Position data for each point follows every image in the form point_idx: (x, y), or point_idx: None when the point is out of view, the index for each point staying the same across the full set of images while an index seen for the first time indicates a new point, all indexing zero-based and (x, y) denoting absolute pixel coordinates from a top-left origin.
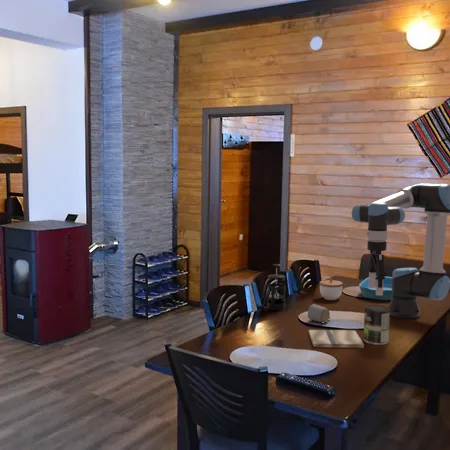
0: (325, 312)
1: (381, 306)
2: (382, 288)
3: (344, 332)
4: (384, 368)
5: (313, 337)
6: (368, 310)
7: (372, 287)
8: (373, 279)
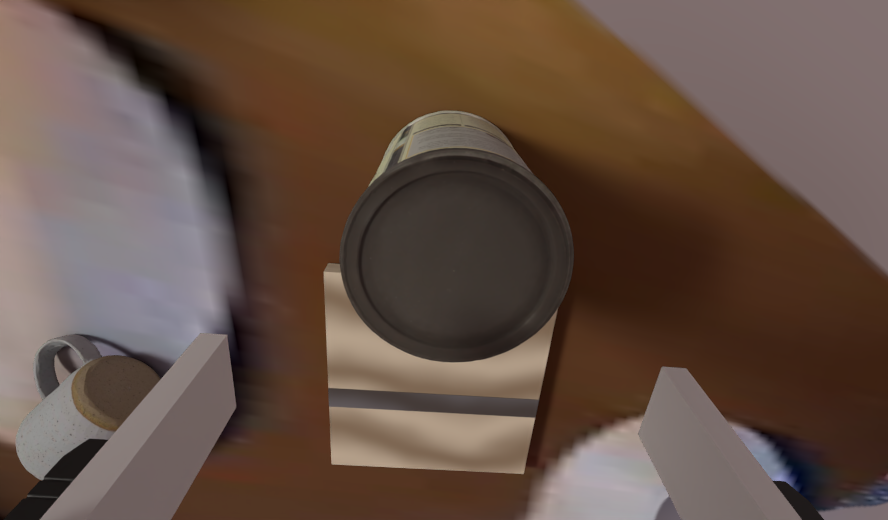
0: (117, 407)
1: (383, 205)
2: (739, 449)
3: (364, 331)
4: (838, 263)
5: (443, 463)
6: (511, 347)
7: (227, 372)
8: (159, 460)
